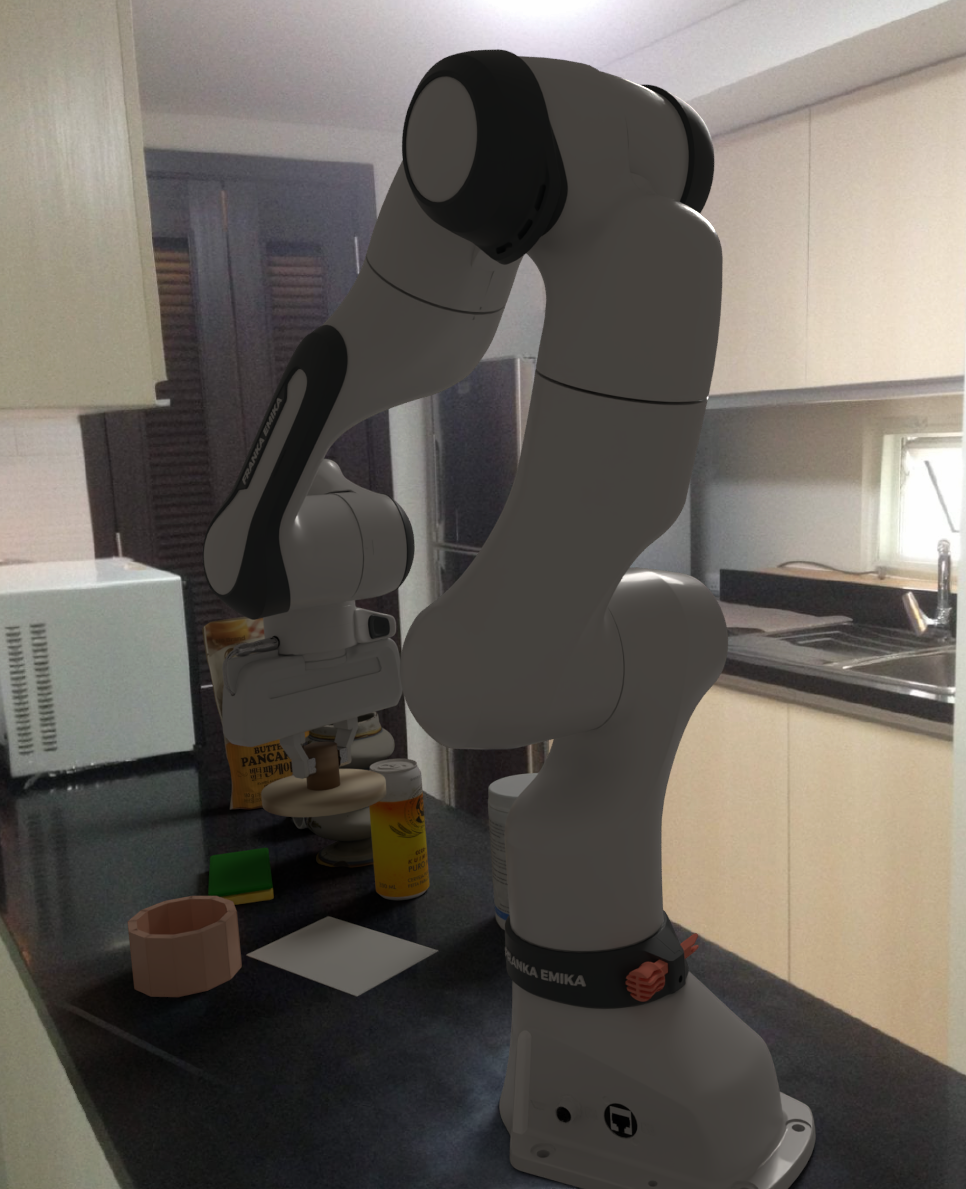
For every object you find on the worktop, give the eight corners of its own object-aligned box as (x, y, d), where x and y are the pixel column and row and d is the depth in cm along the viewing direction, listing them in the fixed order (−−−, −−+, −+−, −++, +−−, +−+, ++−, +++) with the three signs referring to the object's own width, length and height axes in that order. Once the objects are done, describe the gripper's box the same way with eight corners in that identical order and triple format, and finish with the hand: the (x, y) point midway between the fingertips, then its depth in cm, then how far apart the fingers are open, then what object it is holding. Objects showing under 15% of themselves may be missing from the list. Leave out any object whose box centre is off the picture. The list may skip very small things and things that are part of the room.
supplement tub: (581, 943, 107) (573, 798, 105) (487, 940, 109) (477, 798, 107) (591, 904, 116) (584, 770, 115) (504, 902, 118) (496, 771, 117)
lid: (411, 789, 106) (407, 738, 106) (319, 824, 97) (314, 768, 97) (329, 774, 114) (325, 726, 113) (236, 805, 105) (231, 753, 104)
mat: (438, 954, 106) (438, 950, 106) (357, 1000, 98) (357, 996, 98) (328, 919, 117) (328, 916, 117) (246, 958, 108) (246, 954, 108)
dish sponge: (210, 915, 121) (207, 894, 121) (211, 873, 135) (209, 854, 134) (274, 905, 123) (272, 884, 122) (269, 865, 136) (268, 846, 136)
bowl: (262, 967, 106) (256, 908, 105) (174, 1010, 98) (167, 947, 98) (200, 944, 112) (195, 888, 112) (113, 982, 105) (107, 923, 104)
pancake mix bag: (213, 805, 162) (195, 620, 159) (332, 781, 171) (318, 606, 168) (225, 816, 156) (207, 624, 153) (348, 791, 165) (333, 609, 162)
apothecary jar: (295, 874, 131) (282, 729, 129) (323, 840, 143) (312, 706, 141) (392, 873, 129) (381, 725, 127) (412, 839, 141) (402, 703, 139)
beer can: (422, 905, 119) (412, 772, 117) (369, 904, 120) (358, 772, 119) (435, 884, 125) (426, 757, 123) (385, 883, 126) (375, 757, 124)
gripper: (243, 649, 94) (258, 804, 95) (407, 616, 109) (417, 749, 111) (200, 645, 98) (214, 794, 99) (364, 614, 113) (374, 743, 115)
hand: (323, 770), depth 105 cm, fingers closed on lid, 3 cm apart
